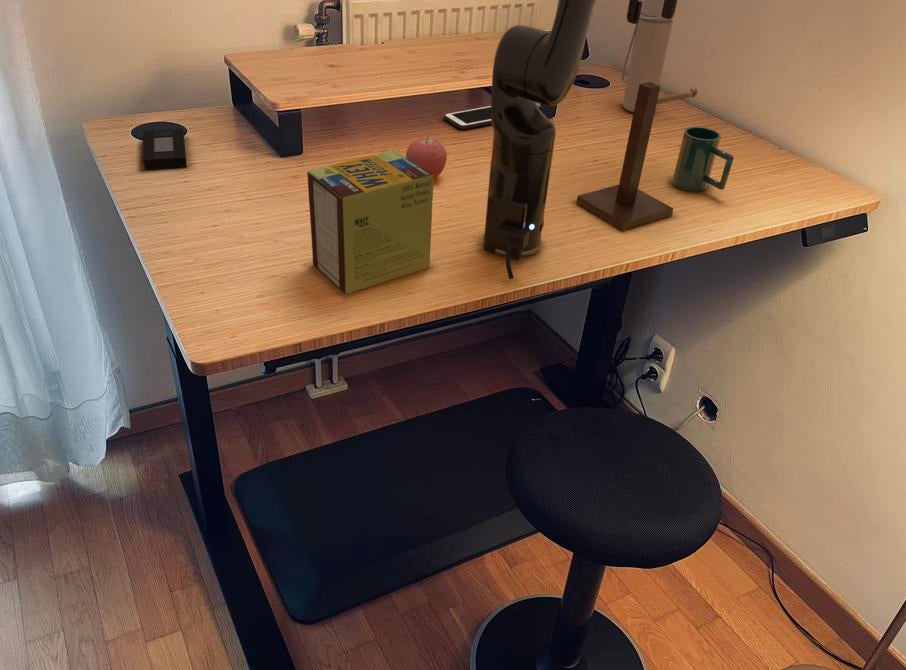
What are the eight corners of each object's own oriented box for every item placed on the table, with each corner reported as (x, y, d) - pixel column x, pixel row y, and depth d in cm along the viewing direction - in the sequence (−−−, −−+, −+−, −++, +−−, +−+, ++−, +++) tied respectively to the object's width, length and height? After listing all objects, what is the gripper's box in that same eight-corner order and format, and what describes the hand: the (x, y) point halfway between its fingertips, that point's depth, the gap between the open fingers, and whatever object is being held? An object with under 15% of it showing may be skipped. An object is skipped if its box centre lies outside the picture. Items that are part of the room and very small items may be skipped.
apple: (418, 166, 151) (419, 125, 146) (451, 176, 149) (454, 134, 144) (398, 180, 146) (398, 138, 141) (432, 190, 144) (434, 147, 139)
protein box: (431, 268, 122) (435, 173, 112) (345, 296, 115) (342, 198, 105) (394, 239, 129) (395, 148, 119) (310, 264, 121) (305, 169, 112)
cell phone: (441, 118, 171) (442, 114, 171) (497, 108, 178) (497, 104, 177) (461, 130, 166) (461, 126, 166) (517, 119, 172) (517, 115, 172)
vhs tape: (144, 170, 145) (142, 160, 144) (145, 140, 156) (143, 130, 154) (186, 167, 147) (185, 157, 145) (184, 138, 157) (182, 128, 156)
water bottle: (660, 109, 182) (686, -8, 166) (642, 117, 177) (667, -3, 161) (626, 99, 186) (649, -17, 171) (607, 106, 182) (629, -12, 166)
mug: (664, 181, 151) (677, 130, 145) (688, 174, 154) (701, 124, 147) (708, 204, 144) (723, 151, 138) (732, 197, 147) (748, 145, 140)
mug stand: (622, 231, 134) (649, 102, 120) (576, 203, 142) (597, 79, 128) (694, 209, 142) (728, 85, 128) (647, 183, 150) (674, 64, 136)
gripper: (656, -77, 126) (635, 30, 136) (717, -82, 132) (692, 21, 142) (623, -85, 131) (606, 19, 141) (683, -89, 137) (662, 11, 147)
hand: (649, 20), depth 141 cm, fingers open, 8 cm apart
